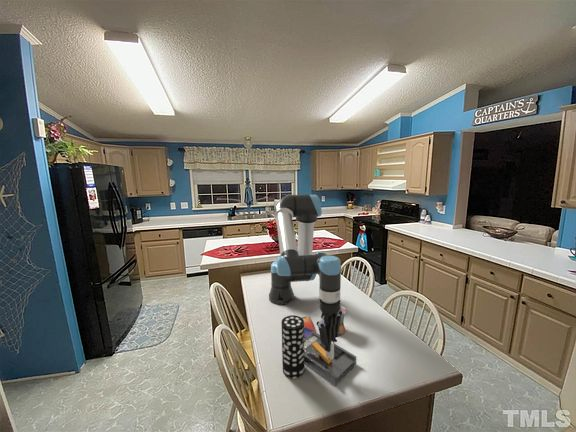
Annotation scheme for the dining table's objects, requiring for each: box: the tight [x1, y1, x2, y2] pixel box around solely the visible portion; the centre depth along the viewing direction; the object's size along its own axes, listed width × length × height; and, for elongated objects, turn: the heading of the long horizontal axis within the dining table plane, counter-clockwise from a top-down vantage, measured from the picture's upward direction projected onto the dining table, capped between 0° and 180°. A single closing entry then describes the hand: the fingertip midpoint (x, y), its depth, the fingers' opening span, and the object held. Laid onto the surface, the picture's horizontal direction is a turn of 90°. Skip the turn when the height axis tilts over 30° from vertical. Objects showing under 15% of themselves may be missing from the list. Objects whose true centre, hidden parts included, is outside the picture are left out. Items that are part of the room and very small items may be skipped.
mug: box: [338, 304, 347, 335], centre depth 115 cm, size 12×9×11 cm
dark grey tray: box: [304, 331, 357, 387], centre depth 97 cm, size 22×14×4 cm, turn 44°
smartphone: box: [300, 316, 317, 339], centre depth 117 cm, size 7×15×1 cm, turn 9°
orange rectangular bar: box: [311, 341, 333, 364], centre depth 94 cm, size 9×2×1 cm, turn 44°
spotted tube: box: [281, 314, 305, 379], centre depth 90 cm, size 8×8×20 cm
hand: (329, 357), depth 91 cm, fingers closed
